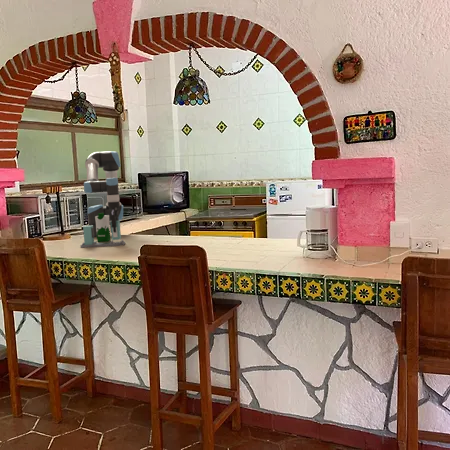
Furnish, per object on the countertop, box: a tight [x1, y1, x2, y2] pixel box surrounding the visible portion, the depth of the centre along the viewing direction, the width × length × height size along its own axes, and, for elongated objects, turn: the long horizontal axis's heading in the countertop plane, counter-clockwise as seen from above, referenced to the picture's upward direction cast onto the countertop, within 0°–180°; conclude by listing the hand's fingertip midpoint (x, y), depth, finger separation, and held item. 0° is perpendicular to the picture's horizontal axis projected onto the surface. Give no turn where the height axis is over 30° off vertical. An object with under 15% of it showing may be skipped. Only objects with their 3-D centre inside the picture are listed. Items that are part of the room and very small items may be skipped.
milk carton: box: [95, 213, 112, 243], centre depth 338 cm, size 9×9×20 cm
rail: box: [80, 239, 126, 249], centre depth 318 cm, size 7×28×3 cm, turn 92°
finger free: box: [109, 220, 122, 241], centre depth 317 cm, size 5×6×12 cm
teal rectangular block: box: [82, 225, 95, 245], centre depth 317 cm, size 5×6×12 cm
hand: (116, 236), depth 318 cm, fingers closed on finger free, 5 cm apart
